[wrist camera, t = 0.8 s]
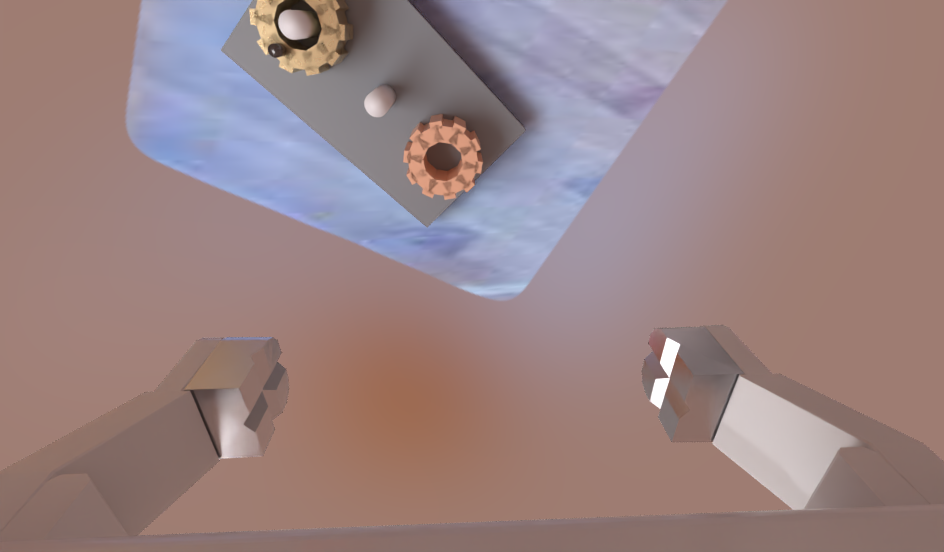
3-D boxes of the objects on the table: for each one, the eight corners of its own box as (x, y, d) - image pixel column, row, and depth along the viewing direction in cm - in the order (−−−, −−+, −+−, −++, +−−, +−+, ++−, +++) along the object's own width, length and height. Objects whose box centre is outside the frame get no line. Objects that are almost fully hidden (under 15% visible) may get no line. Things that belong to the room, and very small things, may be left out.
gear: (297, -51, 32) (277, -60, 28) (370, 24, 34) (360, 24, 31) (248, 24, 34) (224, 24, 30) (320, 89, 36) (305, 96, 33)
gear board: (323, -93, 32) (295, -117, 27) (523, 125, 40) (533, 142, 35) (231, 48, 37) (190, 53, 31) (428, 219, 45) (423, 248, 39)
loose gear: (442, 97, 37) (441, 103, 35) (495, 152, 40) (498, 161, 37) (392, 153, 39) (387, 162, 37) (445, 201, 42) (444, 214, 39)
